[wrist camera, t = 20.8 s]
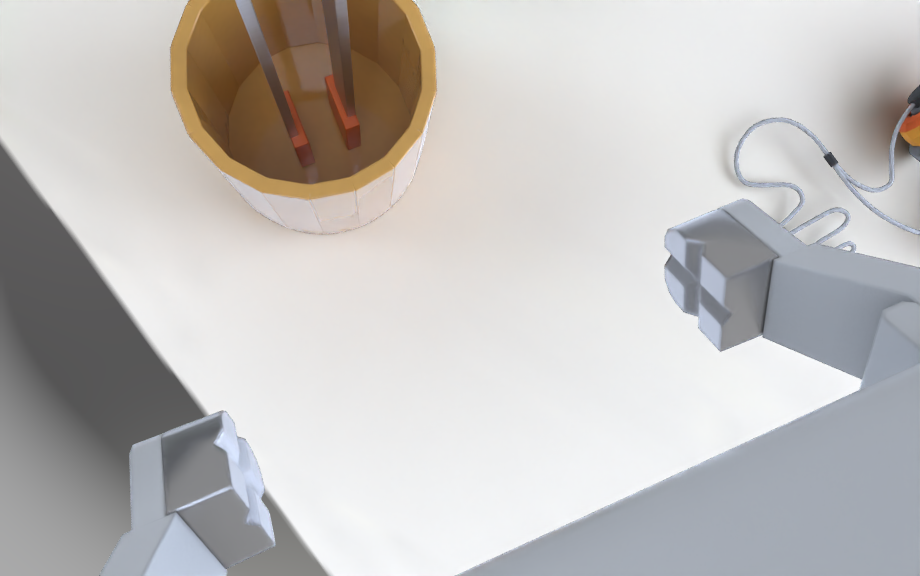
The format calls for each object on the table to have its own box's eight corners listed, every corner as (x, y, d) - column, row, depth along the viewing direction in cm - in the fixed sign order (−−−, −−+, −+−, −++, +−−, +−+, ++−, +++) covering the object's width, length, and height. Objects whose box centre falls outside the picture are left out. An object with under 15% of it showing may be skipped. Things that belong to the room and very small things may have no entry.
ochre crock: (377, 12, 38) (378, -91, 29) (451, 193, 38) (475, 145, 29) (189, 76, 37) (129, -12, 28) (264, 265, 36) (228, 238, 27)
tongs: (341, 97, 37) (294, -271, 15) (361, 145, 36) (342, -153, 15) (282, 118, 36) (143, -229, 14) (302, 167, 36) (192, -108, 14)
